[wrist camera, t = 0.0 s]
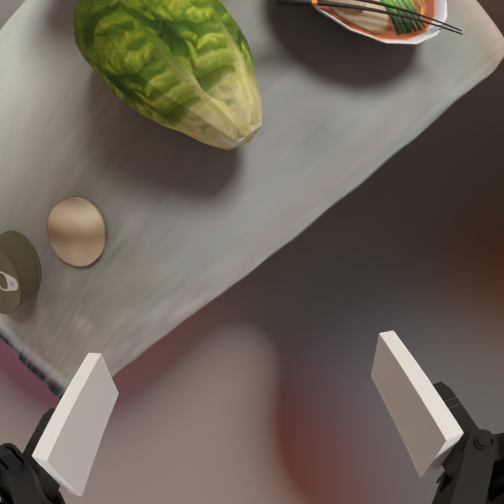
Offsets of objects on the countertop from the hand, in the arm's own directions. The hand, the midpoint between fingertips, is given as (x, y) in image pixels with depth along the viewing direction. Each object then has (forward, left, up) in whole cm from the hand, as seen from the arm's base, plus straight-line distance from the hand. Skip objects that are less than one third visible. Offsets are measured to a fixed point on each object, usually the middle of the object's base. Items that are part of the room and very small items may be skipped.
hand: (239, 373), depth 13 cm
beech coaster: (-1, -23, -28) cm, 36 cm away
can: (+3, -38, -28) cm, 48 cm away
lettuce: (-21, -5, -28) cm, 36 cm away
